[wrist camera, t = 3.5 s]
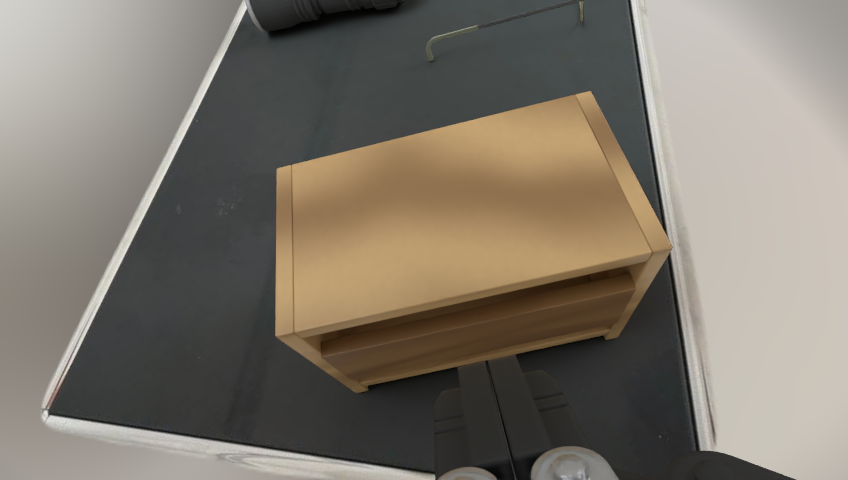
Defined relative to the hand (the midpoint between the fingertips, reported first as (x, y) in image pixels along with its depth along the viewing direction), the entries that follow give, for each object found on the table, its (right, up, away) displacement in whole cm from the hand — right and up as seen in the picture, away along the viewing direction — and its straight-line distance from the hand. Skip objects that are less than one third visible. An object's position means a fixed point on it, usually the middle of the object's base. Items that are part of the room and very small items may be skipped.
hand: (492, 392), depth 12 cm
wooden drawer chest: (+1, 0, +18) cm, 18 cm away
